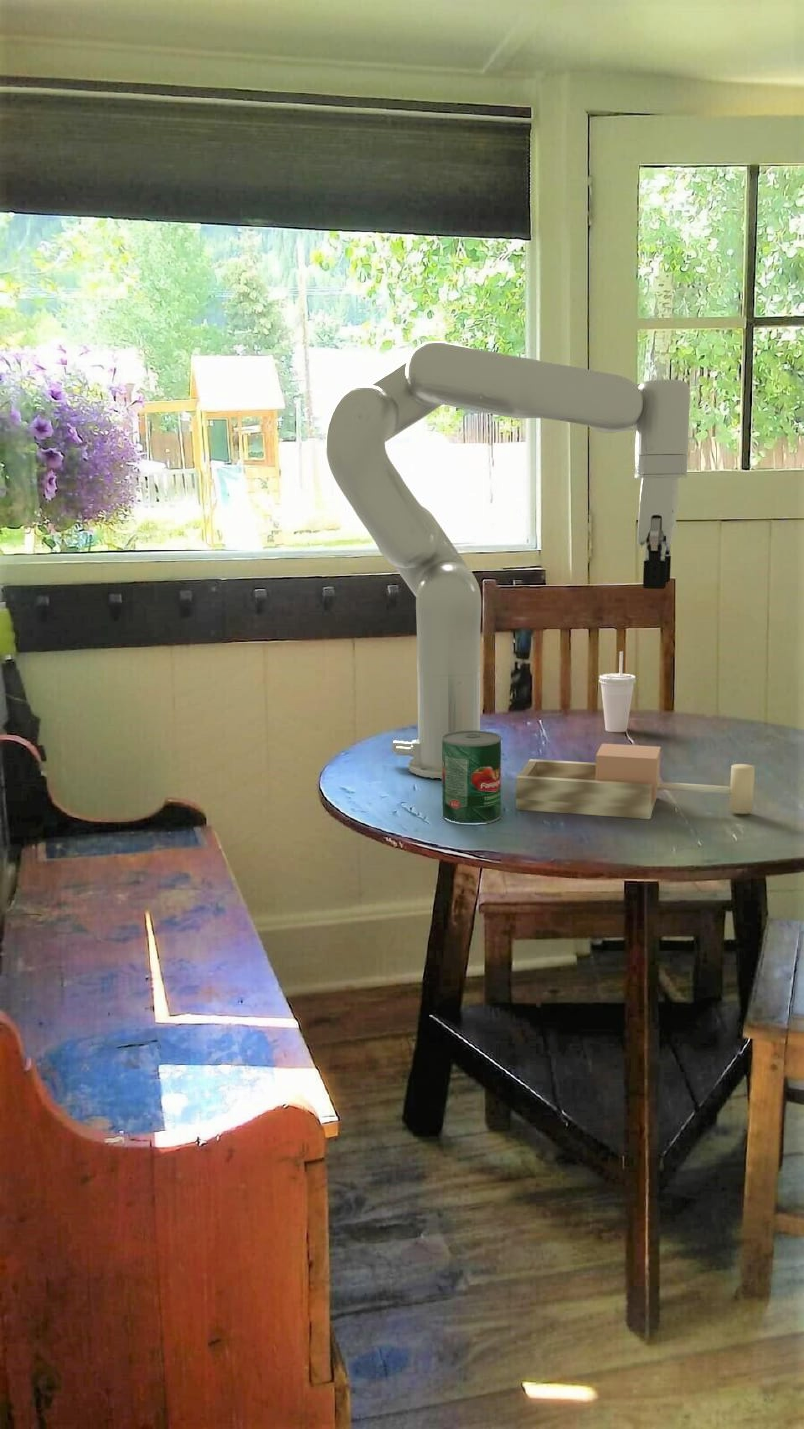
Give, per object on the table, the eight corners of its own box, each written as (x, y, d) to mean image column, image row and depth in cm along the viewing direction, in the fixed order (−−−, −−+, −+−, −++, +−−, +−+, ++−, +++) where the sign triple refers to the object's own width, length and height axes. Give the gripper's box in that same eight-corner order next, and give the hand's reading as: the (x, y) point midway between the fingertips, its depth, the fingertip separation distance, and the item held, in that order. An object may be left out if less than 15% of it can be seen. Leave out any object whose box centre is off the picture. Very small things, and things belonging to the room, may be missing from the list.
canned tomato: (498, 826, 149) (498, 744, 147) (438, 824, 151) (437, 742, 148) (503, 809, 157) (503, 731, 155) (446, 807, 158) (445, 729, 156)
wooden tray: (515, 809, 157) (516, 777, 156) (529, 788, 167) (530, 758, 166) (650, 819, 152) (651, 786, 151) (656, 797, 162) (657, 766, 161)
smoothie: (637, 733, 200) (640, 654, 197) (600, 734, 201) (602, 654, 198) (630, 725, 207) (633, 648, 204) (595, 726, 207) (597, 649, 204)
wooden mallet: (594, 807, 155) (595, 755, 154) (600, 793, 162) (602, 743, 160) (752, 818, 150) (755, 764, 148) (752, 803, 156) (755, 751, 155)
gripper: (639, 468, 177) (636, 579, 180) (629, 468, 160) (625, 590, 164) (689, 467, 175) (685, 580, 178) (684, 467, 158) (679, 591, 162)
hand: (656, 585), depth 171 cm, fingers open, 9 cm apart
